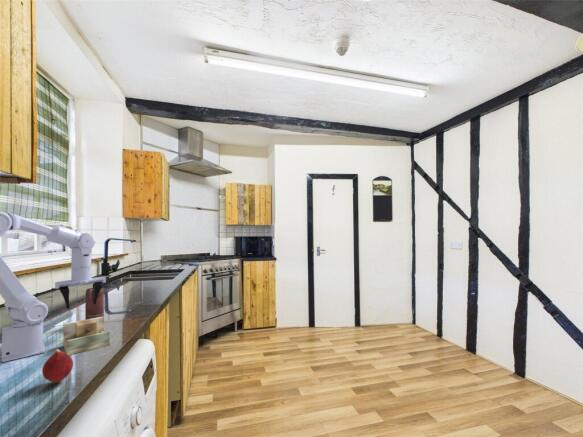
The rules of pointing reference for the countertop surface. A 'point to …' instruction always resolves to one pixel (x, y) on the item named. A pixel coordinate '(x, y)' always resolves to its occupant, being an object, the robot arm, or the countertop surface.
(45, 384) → the countertop surface
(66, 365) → the onion
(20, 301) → the robot arm
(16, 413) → the countertop surface
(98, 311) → the can
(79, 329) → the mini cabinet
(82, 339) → the wooden cubby shelf
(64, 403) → the countertop surface
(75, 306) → the countertop surface
